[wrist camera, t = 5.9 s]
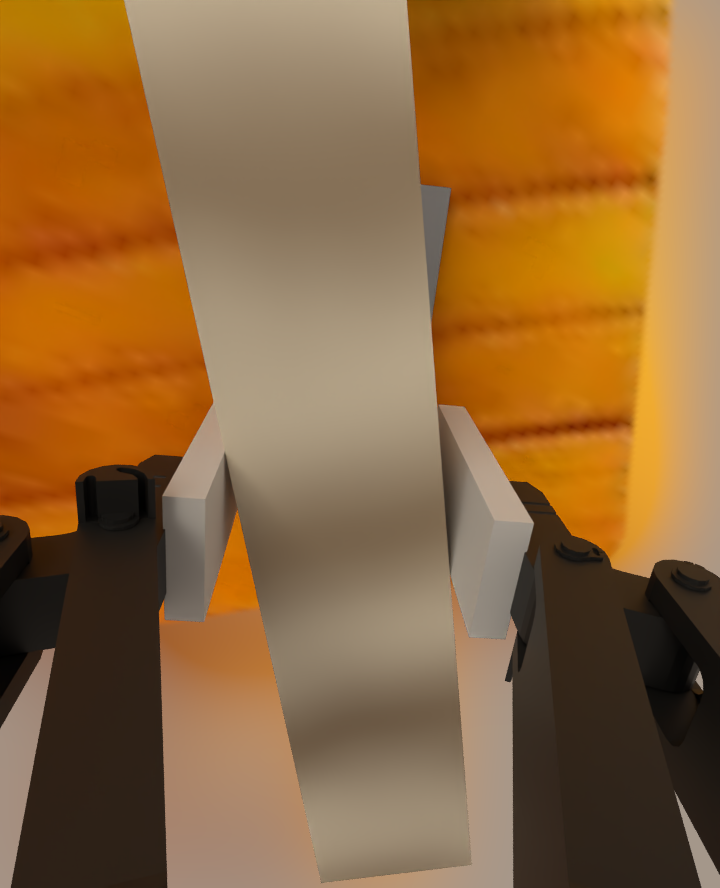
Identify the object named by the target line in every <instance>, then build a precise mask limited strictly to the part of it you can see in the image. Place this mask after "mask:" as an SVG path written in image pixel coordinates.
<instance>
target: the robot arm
mask: <svg viewBox="0 0 720 888" xmlns="http://www.w3.org/2000/svg"><path fill="white" fill-rule="evenodd" d="M438 423H439V437H440V450H441V463H442V477H443V490H444V503H445V517H446V530H447V543H448V557H449V570H450V576H451V579H452V583H453V586H454V589H455V593H456V595H457V599H458V602H459V606H460V609H461V612H462V616H463V619H464V622H465V626H466V629H467V632H468V635H469V637H474V638H491V639H505V638H506V635H507V631H508V626H509V622H510V618H511V616H512V619H513V621H514V623H515V626H516V628H517V630H518V631H517V636H516V639H515V643H514V647H513V651H512V655H511V659H510V663H509V667H508V670H507V674H506V678H505V681H507V682H511V680H512V677H513V877H514V878H513V880H514V881H513V887H514V888H701V884H700V881H699V878H698V874H697V870H696V866H695V863H694V860H693V856H692V852H691V849H690V845H689V842H688V838H687V834H686V831H685V827H684V824H683V820H682V817H681V813H680V809H679V806H678V802H677V799H676V795H675V792H676V794H677V796H678V798H679V800H680V802H681V803H682V805H683V807H684V809H685V811H686V813H687V815H688V816H689V818H690V820H691V822H692V824H693V826H694V828H695V830H696V831H697V833H698V835H699V837H700V839H701V841H702V842H703V844H704V846H705V848H706V850H707V852H708V854H709V856H710V857H711V859H712V861H713V863H714V865H715V867H716V869H717V871H718V872H719V874H720V578H719V577H718V576H716V575H715V574H713V573H711V572H710V571H708V570H706V569H705V568H704V567H702V566H700V565H697V564H695V565H694V564H693V563H691V562H687V561H684V562H683V561H677V560H662V561H659V562H657V563H655V565H654V568H653V571H652V574H651V577H650V578H646V577H642V576H638V575H634V574H630V573H626V572H622V571H619V570H615V569H612V567H611V563H610V560H609V558H608V556H607V555H606V553H605V552H604V551H603V550H602V549H600V548H599V547H598V546H597V545H595V544H593V543H591V542H589V541H587V540H585V539H582V538H578V537H575V536H572V535H571V534H570V532H569V531H568V529H567V528H566V527H565V525H564V524H563V522H562V521H561V519H560V518H559V516H558V515H556V512H555V510H554V509H553V508H552V506H550V503H549V502H548V500H547V499H546V497H545V496H544V494H543V493H542V492H541V491H539V490H538V489H536V488H535V487H533V486H532V485H531V484H529V483H528V482H516V481H508V479H507V477H506V476H505V474H504V472H503V470H502V469H501V467H500V465H499V464H498V462H497V460H496V459H495V457H494V455H493V454H492V452H491V450H490V449H489V447H488V445H487V444H486V442H485V440H484V439H483V437H482V435H481V434H480V432H479V430H478V429H477V427H476V425H475V424H474V422H473V420H472V419H471V417H470V415H469V414H468V412H467V410H466V409H465V407H461V406H450V405H439V404H438ZM75 486H76V498H77V511H78V528H77V531H76V532H72V533H68V534H62V535H55V536H46V537H36V538H31V537H30V529H29V527H28V525H27V523H26V522H25V521H23V520H21V519H19V518H17V517H12V516H5V515H0V728H1V726H2V724H3V723H4V721H5V719H6V717H7V716H8V714H9V712H10V711H11V709H12V707H13V705H14V704H15V702H16V700H17V698H18V697H19V695H20V693H21V691H22V690H23V688H24V686H25V684H26V683H27V681H28V679H29V677H30V675H31V674H32V672H33V670H34V669H35V667H36V665H37V663H38V662H39V660H40V658H41V655H42V652H43V650H45V649H51V648H55V652H54V658H53V663H52V668H51V674H50V680H49V685H48V690H47V696H46V701H45V706H44V712H43V717H42V723H41V728H40V734H39V739H38V744H37V749H36V754H35V760H34V765H33V771H32V776H31V782H30V787H29V792H28V798H27V803H26V808H25V814H24V819H23V824H22V830H21V835H20V841H19V846H18V852H17V857H16V862H15V868H14V873H13V878H12V884H11V888H167V863H166V862H167V861H166V828H165V798H164V764H163V733H162V700H161V669H160V668H161V666H160V635H159V610H160V608H161V605H162V603H163V600H164V609H165V620H177V621H195V622H204V621H205V617H206V614H207V610H208V607H209V604H210V600H211V597H212V593H213V590H214V587H215V583H216V580H217V576H218V573H219V569H220V566H221V563H222V559H223V556H224V552H225V549H226V546H227V542H228V539H229V535H230V532H231V529H232V525H233V522H234V518H235V515H236V512H237V504H236V499H235V495H234V490H233V486H232V481H231V477H230V472H229V468H228V463H227V459H226V454H225V450H224V445H223V441H222V436H221V432H220V427H219V423H218V419H217V414H216V410H215V405H214V403H213V404H212V406H211V408H210V410H209V412H208V413H207V415H206V417H205V419H204V421H203V423H202V424H201V426H200V428H199V430H198V432H197V434H196V435H195V437H194V439H193V441H192V443H191V444H190V446H189V448H188V450H187V452H186V454H185V455H184V457H178V456H165V455H154V456H152V457H150V458H148V459H146V460H144V461H143V462H141V463H139V465H138V466H133V465H109V466H102V467H98V468H95V469H91V470H89V471H87V472H85V473H83V474H81V475H80V476H79V477H78V479H77V480H76V482H75ZM699 671H700V672H701V675H702V679H703V690H702V689H701V688H700V686H699V685H698V684H697V682H696V681H695V680H696V678H697V675H698V673H699ZM674 790H675V792H674Z"/></svg>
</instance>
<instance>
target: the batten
mask: <svg viewBox="0 0 720 888" xmlns="http://www.w3.org/2000/svg"><path fill="white" fill-rule="evenodd" d="M124 2H125V7H126V11H127V15H128V20H129V24H130V29H131V33H132V38H133V42H134V47H135V51H136V56H137V60H138V65H139V69H140V74H141V78H142V83H143V87H144V92H145V96H146V101H147V105H148V110H149V114H150V118H151V123H152V127H153V132H154V136H155V141H156V145H157V150H158V154H159V159H160V163H161V168H162V172H163V177H164V181H165V186H166V190H167V195H168V199H169V204H170V208H171V213H172V217H173V221H174V226H175V230H176V235H177V239H178V244H179V248H180V253H181V257H182V262H183V266H184V271H185V275H186V280H187V284H188V289H189V293H190V298H191V302H192V307H193V311H194V316H195V320H196V324H197V329H198V333H199V338H200V342H201V347H202V351H203V356H204V360H205V365H206V369H207V374H208V378H209V383H210V387H211V392H212V396H213V401H214V405H215V410H216V414H217V419H218V423H219V427H220V432H221V436H222V441H223V445H224V450H225V454H226V459H227V463H228V468H229V472H230V477H231V481H232V486H233V490H234V495H235V499H236V504H237V508H238V513H239V517H240V522H241V526H242V530H243V535H244V539H245V544H246V548H247V553H248V557H249V562H250V566H251V571H252V575H253V580H254V584H255V589H256V593H257V598H258V602H259V607H260V611H261V616H262V620H263V624H264V629H265V633H266V638H267V642H268V647H269V651H270V656H271V660H272V665H273V669H274V674H275V678H276V683H277V687H278V691H279V696H280V700H281V705H282V710H283V714H284V719H285V723H286V727H287V732H288V736H289V741H290V745H291V750H292V754H293V759H294V763H295V768H296V772H297V777H298V781H299V786H300V790H301V795H302V799H303V804H304V808H305V813H306V817H307V822H308V826H309V831H310V835H311V839H312V844H313V848H314V852H315V857H316V862H317V866H318V871H319V875H320V880H321V883H324V882H333V881H341V880H349V879H358V878H366V877H374V876H383V875H390V874H399V873H408V872H416V871H424V870H433V869H441V868H448V867H457V866H466V865H471V864H472V863H471V850H470V837H469V824H468V810H467V796H466V783H465V770H464V757H463V744H462V730H461V717H460V704H459V690H458V677H457V663H456V651H455V637H454V623H453V610H452V599H451V583H450V570H449V557H448V543H447V530H446V517H445V503H444V490H443V477H442V463H441V450H440V437H439V423H438V410H437V397H436V383H435V370H434V357H433V343H432V330H431V317H430V304H429V290H428V277H427V264H426V250H425V237H424V224H423V210H422V197H421V184H420V170H419V157H418V144H417V130H416V117H415V104H414V90H413V77H412V64H411V50H410V37H409V24H408V10H407V0H124Z"/></svg>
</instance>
